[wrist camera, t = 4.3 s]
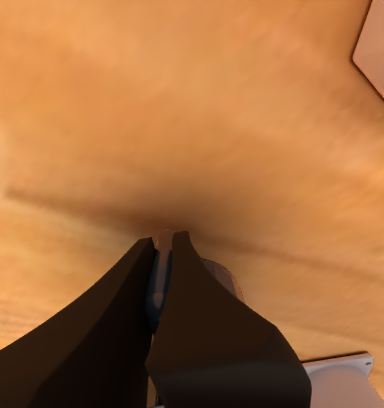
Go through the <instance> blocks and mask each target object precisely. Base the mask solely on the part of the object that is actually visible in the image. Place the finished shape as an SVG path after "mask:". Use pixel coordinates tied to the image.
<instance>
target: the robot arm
mask: <svg viewBox="0 0 384 408" xmlns="http://www.w3.org/2000/svg"><path fill="white" fill-rule="evenodd" d="M154 254H155V247H154V243H153V240H152V237H149V238H143V239H139V240H138V241H137V242H136V243H135V244H134V245H133V246H132V247H131V248H130V250H129V251H128V252H127V253H126V254H125V255H124V256H123V257H122V258H121V259H120V260H119V261H118V262H117V263H116V264H115V265H114V266H113V267H112V268H111V269H110V270H109V271H108V272H107V273H106V274H105V275H104V276H103V277H102V278H101V279H99V280H98V281H97V282H96V283H95V284H94V285H93V286H92V287H90V288H89V289H88V290H87V291H86V292H84V293H83V294H82V295H81V296H79V297H78V298H77V299H76V300H74V301H73V302H72V303H70V304H69V305H68V306H66V307H65V308H64V309H62V310H61V311H59V312H58V313H57V314H55V315H54V316H53V317H51V318H50V319H48V320H47V321H45V322H44V323H43V324H41V325H39V326H38V327H36V328H35V329H33V330H32V331H30V332H29V333H27V334H26V335H24V336H23V337H21V338H19V339H18V340H16V341H15V342H13V343H11V344H10V345H8V346H6V347H5V348H3V349H1V350H0V408H147V396H148V380H149V376H150V378H151V380H152V382H153V384H154V386H155V389H156V391H157V393H158V395H159V397H160V399H161V401H162V403H163V405H164V408H384V401H383V399H382V398H381V397H380V395H379V394H378V392H377V391H376V390H375V388H374V387H373V385H372V384H371V383H370V381H369V380H368V377H369V374H370V371H371V368H372V364H373V361H374V358H373V356H372V355H371V354H369V353H365V354H359V355H353V356H346V357H340V358H333V359H327V360H321V361H314V362H308V363H301V361H300V360H299V358H298V357H297V355H296V353H295V352H294V350H293V349H292V347H291V346H290V344H289V343H288V341H287V340H286V339H285V337H284V336H283V335H282V333H281V332H280V331H279V329H278V328H277V327H276V326H275V325H273V324H272V323H271V322H269V321H268V320H266V319H265V318H263V317H262V316H260V315H259V314H258V313H256V312H255V311H253V310H252V309H251V308H249V307H248V306H247V305H246V304H244V303H243V302H242V301H241V300H239V299H238V298H237V297H236V296H235V295H234V294H233V293H231V292H230V291H229V290H228V289H227V288H226V287H225V286H224V285H223V284H222V283H221V282H220V281H219V280H218V279H217V278H216V277H215V276H214V275H213V274H212V273H211V272H210V270H209V269H208V268H207V267H206V265H205V264H204V263H203V261H202V260H201V259H200V257H199V256H198V254H197V252H196V251H195V249H194V247H193V245H192V243H191V241H190V237H189V232H187V231H182V232H177V233H174V235H173V237H172V271H171V277H170V282H169V287H168V292H167V296H166V301H165V305H164V308H163V312H162V315H161V319H160V322H159V325H158V328H157V331H156V334H155V337H154V340H153V342H152V345H151V341H152V334H153V332H152V330H151V327H150V325H149V322H148V320H147V318H146V315H145V312H144V301H145V297H146V292H147V287H148V282H149V278H150V273H151V268H152V264H153V259H154Z"/></svg>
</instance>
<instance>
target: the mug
mask: <svg viewBox="0 0 384 408" xmlns="http://www.w3.org/2000/svg"><path fill="white" fill-rule="evenodd" d="M174 233H177V232H176V231H175V230H173V229H165V230H163V231H162V232H161V233H160V234H159V236H158V240H157V245H156V250H155V254H154V259H153V264H152V268H151V273H150V278H149V282H148V287H147V292H146V297H145V301H144V312H145V315H146V318H147V320H148V322H149V325H150V327H151V330H152V332H153V334H152V341H151V345H152V342H153V340H154V337H155V334H156V331H157V328H158V325H159V322H160V319H161V315H162V312H163V308H164V305H165V301H166V296H167V292H168V287H169V282H170V277H171V271H172V237H173V235H174ZM201 260H202V261H203V263H204V264H205V265H206V267H207V268H208V269H209V270H210V272H211V273H212V274H213V275H214V276H215V277H216V278H217V279H218V280H219V281H220V282H221V283H222V284H223V285H224V286H225V287H226V288H227V289H228V290H229V291H230V292H231V293H233V294H234V295H235V296H236V297H237V298H238V299H239V300H241V301H242V302H243V303H244V304H245V301H244V298H243V295H242V292H241V289H240V287H239V286H238V283H237V281H236V279H235V278H234V276H233V275H232V274H231V273H230V272H229V271H228V270H227V269H226V268H224V267H223V266H221V265H219V264H217V263H215V262H212V261H209V260H204V259H201ZM147 408H164V405H163V403H162V401H161V399H160V397H159V395H158V393H157V391H156V389H155V386H154V384H153V382H152V380H151V378H150V376H149V380H148V396H147Z"/></svg>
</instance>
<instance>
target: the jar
mask: <svg viewBox="0 0 384 408" xmlns="http://www.w3.org/2000/svg"><path fill="white" fill-rule="evenodd" d="M353 61H354V63H355V64H356V65H357V66H358V67H359V69H360V70H361V71H362V72H363V73H364V75H365V76H366V77H367V78H368V79H369V81H370V82H371V83H372V84H373V86H374V87H375V88H376V89H377V91H378V92H379V93H380V94H381V95H382V97H383V98H384V0H372V3H371V6H370V9H369V12H368V15H367V18H366V20H365V23H364V26H363V29H362V32H361V35H360V37H359V40H358V43H357V46H356V49H355V52H354V54H353Z"/></svg>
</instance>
